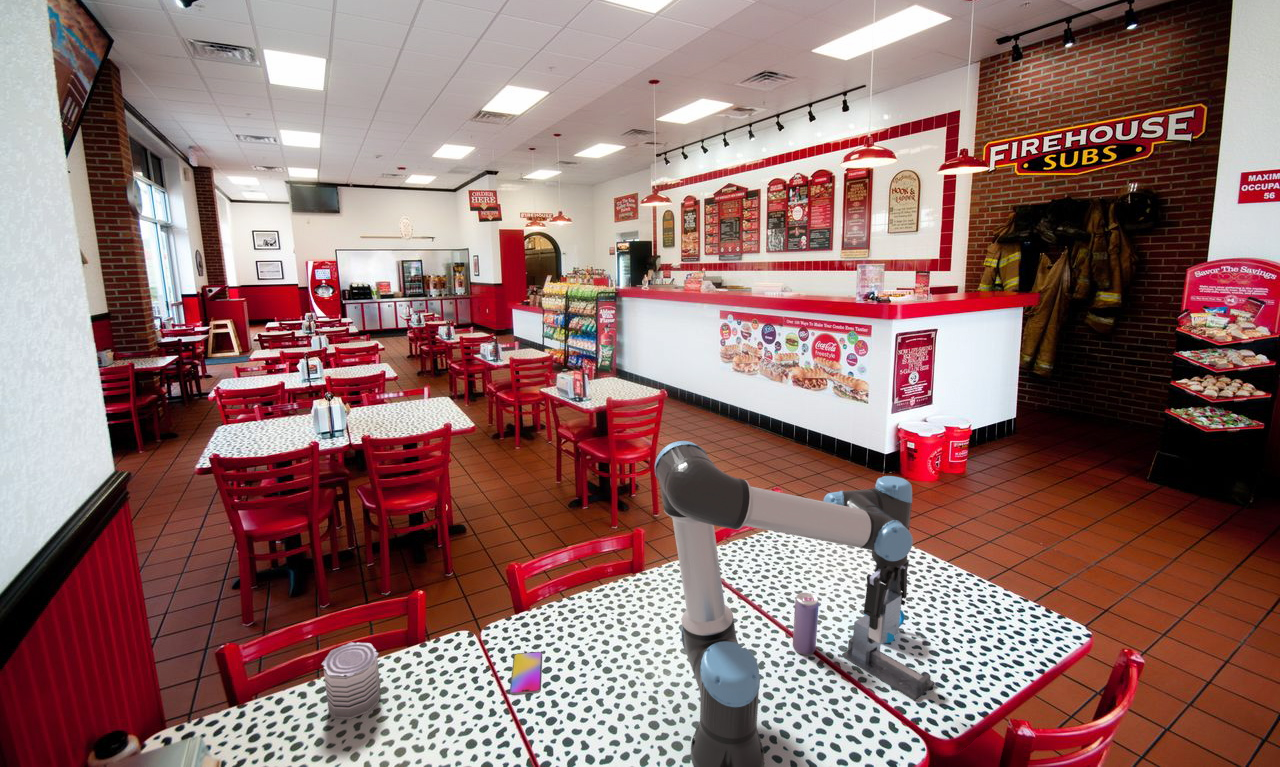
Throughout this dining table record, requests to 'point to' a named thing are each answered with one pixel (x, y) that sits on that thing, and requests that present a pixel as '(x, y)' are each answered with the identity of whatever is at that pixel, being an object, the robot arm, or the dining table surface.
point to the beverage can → (805, 623)
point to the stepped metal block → (890, 615)
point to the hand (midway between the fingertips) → (883, 633)
